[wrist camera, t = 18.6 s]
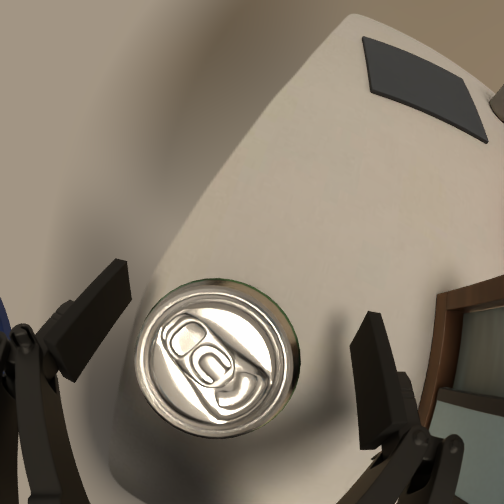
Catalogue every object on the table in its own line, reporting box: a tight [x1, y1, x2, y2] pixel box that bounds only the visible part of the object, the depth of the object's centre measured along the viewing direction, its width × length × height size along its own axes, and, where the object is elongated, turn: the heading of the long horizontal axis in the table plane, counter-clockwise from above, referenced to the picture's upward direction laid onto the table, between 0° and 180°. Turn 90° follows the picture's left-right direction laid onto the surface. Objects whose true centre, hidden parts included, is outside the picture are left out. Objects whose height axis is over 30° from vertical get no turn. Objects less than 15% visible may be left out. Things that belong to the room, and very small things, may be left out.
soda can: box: [134, 278, 301, 439], centre depth 12 cm, size 5×5×12 cm
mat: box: [362, 36, 489, 144], centre depth 26 cm, size 18×14×1 cm
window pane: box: [429, 387, 504, 504], centre depth 8 cm, size 1×8×12 cm, turn 169°
